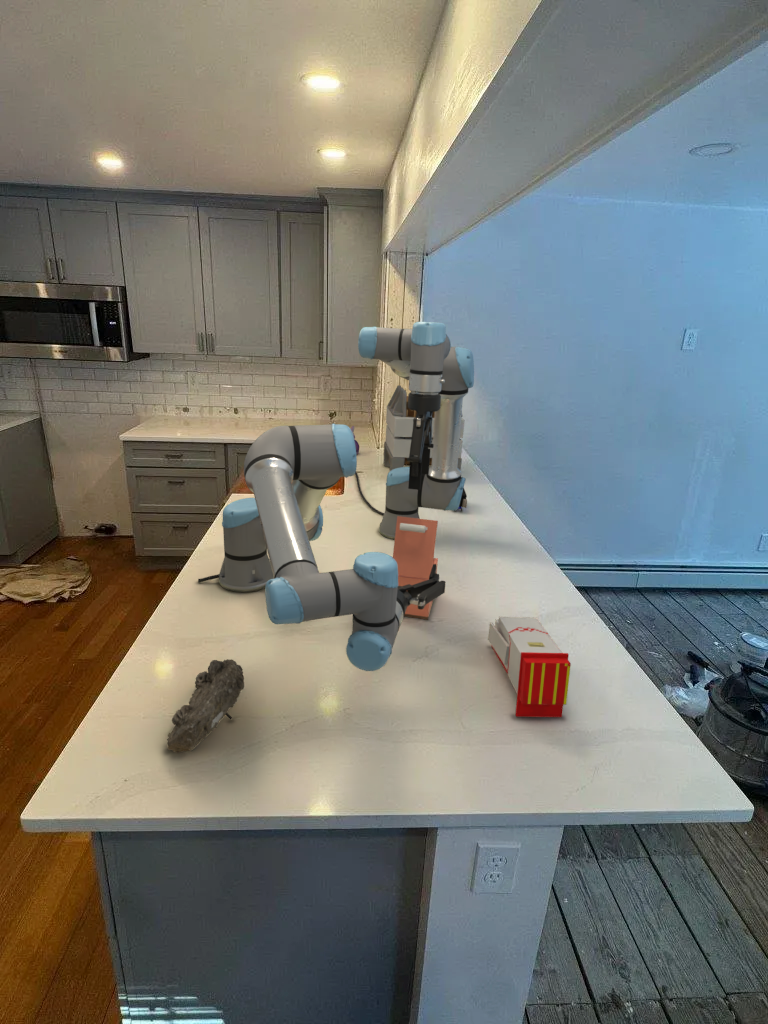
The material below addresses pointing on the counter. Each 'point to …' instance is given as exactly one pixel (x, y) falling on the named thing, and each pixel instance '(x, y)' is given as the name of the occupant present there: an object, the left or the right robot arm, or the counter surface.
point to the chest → (413, 609)
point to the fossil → (206, 705)
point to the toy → (531, 665)
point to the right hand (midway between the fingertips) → (418, 481)
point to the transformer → (404, 431)
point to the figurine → (355, 441)
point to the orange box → (415, 546)
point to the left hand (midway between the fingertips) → (404, 565)
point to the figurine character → (463, 500)
